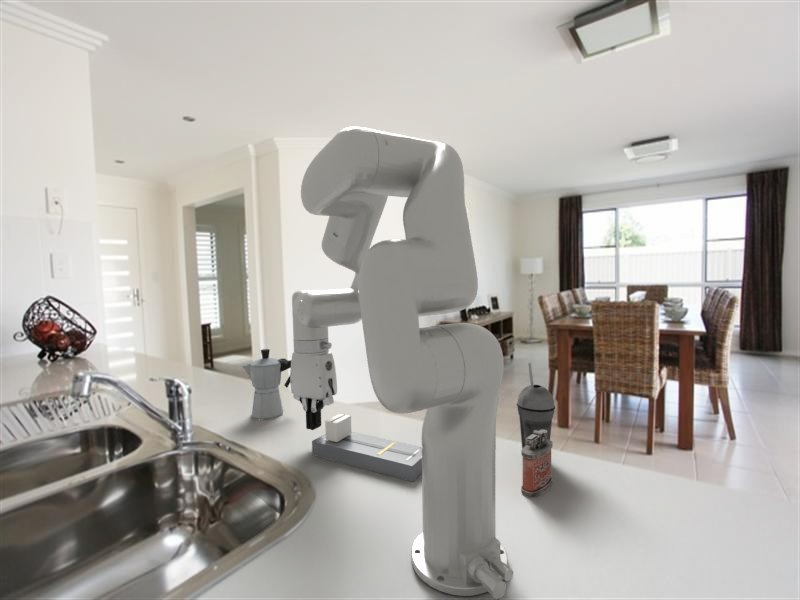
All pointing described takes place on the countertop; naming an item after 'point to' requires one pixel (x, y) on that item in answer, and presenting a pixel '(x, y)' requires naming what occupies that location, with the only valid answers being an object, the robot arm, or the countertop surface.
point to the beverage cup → (535, 409)
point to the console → (372, 454)
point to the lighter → (536, 464)
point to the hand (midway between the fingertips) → (313, 427)
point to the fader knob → (338, 427)
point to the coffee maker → (267, 385)
